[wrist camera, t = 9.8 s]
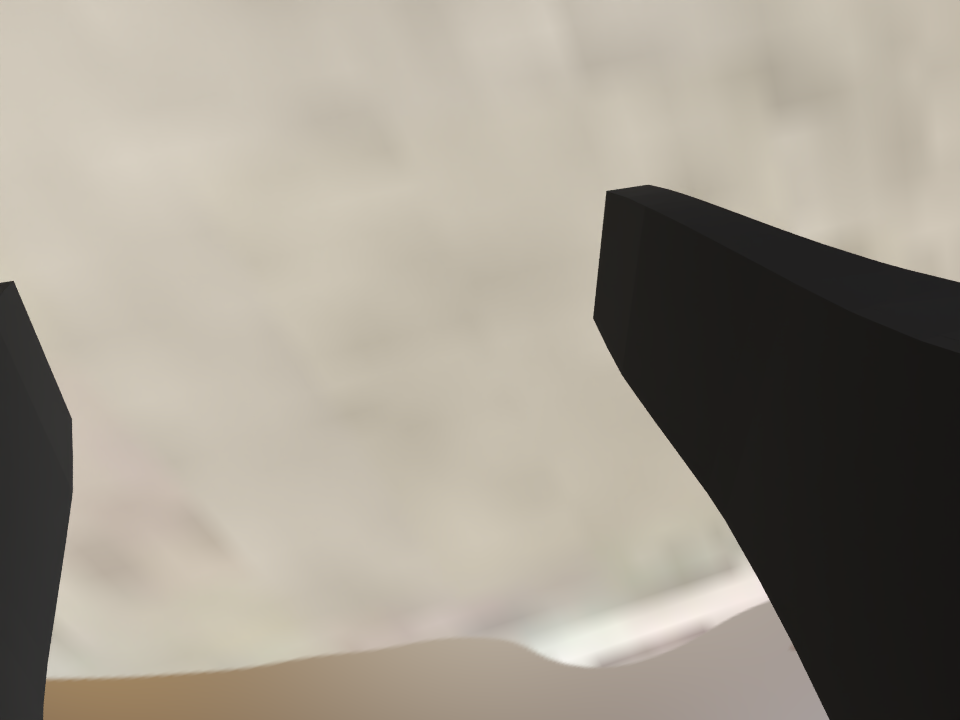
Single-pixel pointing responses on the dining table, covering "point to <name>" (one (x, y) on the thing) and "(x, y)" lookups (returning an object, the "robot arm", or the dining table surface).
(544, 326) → the dining table surface
